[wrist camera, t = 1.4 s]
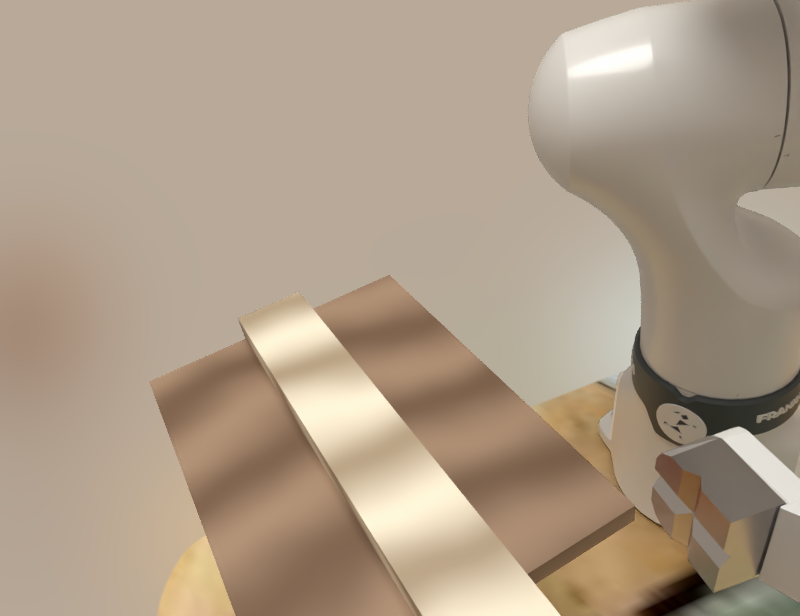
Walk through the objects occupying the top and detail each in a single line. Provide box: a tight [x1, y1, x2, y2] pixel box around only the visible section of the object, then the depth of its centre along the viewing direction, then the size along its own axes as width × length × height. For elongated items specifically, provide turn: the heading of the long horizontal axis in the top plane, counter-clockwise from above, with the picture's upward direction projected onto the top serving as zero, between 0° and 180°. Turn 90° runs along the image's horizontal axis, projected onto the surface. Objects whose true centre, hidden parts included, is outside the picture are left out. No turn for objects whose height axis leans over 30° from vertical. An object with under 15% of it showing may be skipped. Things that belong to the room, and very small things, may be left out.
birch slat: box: [238, 292, 561, 616], centre depth 31 cm, size 30×4×2 cm, turn 29°
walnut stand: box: [150, 275, 635, 616], centre depth 42 cm, size 22×16×26 cm
